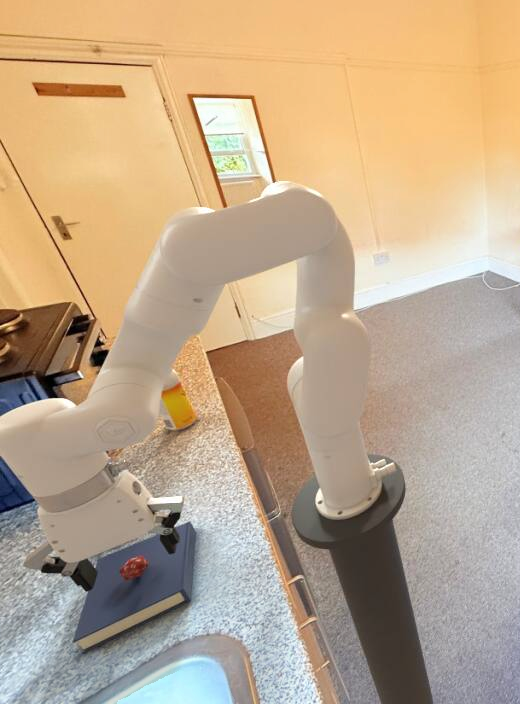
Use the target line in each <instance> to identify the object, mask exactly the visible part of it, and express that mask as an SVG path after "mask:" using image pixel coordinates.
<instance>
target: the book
mask: <svg viewBox="0 0 520 704" xmlns="http://www.w3.org/2000/svg"><path fill="white" fill-rule="evenodd" d="M174 527H175V529H176V530H177V532H178V534H179V536H180V542H179V543H177V545H176V552H175V553H174V554H169V553H168V552H167V550H166V549H165V547H164V546H163V544H162V542H161V541H160V534H154V535H152V536H150V537H148V538H145V539H142V540H141V541H138V542H136V543H133V544H131V545H129V546H126V547H123V548H120V549H119V550H116V551H114V552H111V553H109V554H106V555H104V556H102V557H98V558H97V561H96V564H95V566H94V568H95V569H96V570H97V572H98V574H97V577H96V581H95V584H94V587H93V588H92V590H90V591H87V592H86V597H85V600H84V603H83V605H82V608H81V609H82V610H81V613H80V616H79V618H78V623H77V626H76V629H75V632H74V636H73V639H72V643H74V644H75V643H77V644H78V645H79V646H80V647H81V648H82V654H86V653H88V652H90V651H92V650H94V649H96V648H98V647H100V646H102V645H104V644H106V643H108V642H111V641H113V640H114V639H116V638H118V637H120V636H122V635H124V634H126V633H129V632H131V631H132V630H134V629H136V628H139V627H140V626H142V625H145V624H147V623H149V622H150V621H153V620H155V619H157V618H159V617H161V616H163V615H165V614H167V613H169V612H171V611H173V610H175V609H177V608H180V607H181V606H183V605H186V604H188V603H189V602H191V601H192V594H193V593H192V592H193V580H194V567H195V555H196V541H197V531H196V529H195V528H194V525H193V524H192V522H191V521H190V520H189V521H186V522H184V523H182V524H180V525H177V526H174ZM139 556H144V557H145V559H146V560H147V562H148V563H149V565H148V567H147V568H146V569H145V570H144V572H143V573H142V574H141V576H139V577H135V578H132V579H129V580H125V579H124V578H123V576H122V575H121V573H120V572H119V571H120V569H121V568H122V567H123V566H124V565H125V563H126V562H127V561H128V560H129V559H132V558H136V557H139Z"/></svg>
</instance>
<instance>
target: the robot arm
mask: <svg viewBox="0 0 520 704" xmlns="http://www.w3.org/2000/svg"><path fill="white" fill-rule="evenodd" d="M150 253H151V254H150V256H149V257H148V260H147V262H146V264H145V266H144V268H143V269H142V272H141V274H140V276H139V278H138V280H137V281H136V285H135V286H134V288H133V291H132V292H131V295H130V297H129V299H128V301H127V302H126V304H125V307H124V309H123V312H122V322H121V325H120V328H119V330H118V333H117V335H116V337H115V339H114V341H113V343H112V345H111V347H110V349H109V351H108V353H107V355H106V357H105V359H104V361H103V364H102V366H101V367H100V370H99V372H98V373H97V375H96V377H95V380H94V382H93V384H92V386H91V389H90V390H89V392H88V395H87V397H86V399H85V400H83V401H82V402H81V403H80V404H78V405H76V404H75V403H74V402H73V401H71V400H70V399H67V398H61V397H60V398H59V397H57V398H55V397H53V398H45V399H40V400H37V401H33V402H30V403H26V404H23V405H21V406H19V407H16V408H13V409H12V410H9V411H8V412H5V413H4V414H2V415H0V457H1V459H2V460H3V461H4V463H6V465H7V466H8V467H9V469H10V470H11V471H12V473H13V474H14V475H15V476H16V478H17V479H18V481H20V483H21V484H22V486H23V487H24V488H25V489H26V491H27V492H28V493H29V494H30V496H31V497H32V498H33V499H34V500H35V501H36V503H37V505H38V508H37V510H36V511H37V517H38V521H39V523H40V526H41V529H42V532H43V533H44V536H45V538H46V539H47V540H46V541H45V542H44V543H43V544H41V545H40V546H39V547H37V548H36V549H34V550H33V551H32V552H31V553H30V554H28V555H27V556H26V558H25V560H24V562H23V564H22V566H23V567H24V568H27V569H30V570H31V569H32V570H35V571H40V572H41V573H42V574H54V575H55V574H56V575H58V574H59V575H60V576H61V578H68V577H69V578H70V579H71V580H72V581H73V583H74V584H75V585H76V586H77V587H81V588H82V589H83V591H84V592H86V593H88V591H90V590H92V588H93V587H94V584H95V581H96V577H97V574H98V572H97V570H96V569H95V566H94V565H93V564H92V562H91V561H90V560H89V558H91V557H94V556H98V555H100V554H102V553H104V552H107V551H109V550H111V549H114V548H117V547H119V546H122V545H123V544H126V543H129V542H131V541H133V540H135V539H137V538H140V537H142V536H144V535H146V534H153V535H157V534H160V541H161V542H162V544H163V546H164V547H165V549H166V550H167V552H168V553H169V554H174V553H175V552H176V545H177V543H179V542H180V536H179V534H178V532H177V530H176V529H175V527H176V525H177V523H178V522H179V521H180V519H181V515H182V513H183V512H182V511H183V509H184V504H185V497H184V496H170V497H159V498H158V497H157V498H154V497H153V495H152V494H151V493H150V491H149V490H148V489H147V488H146V486H144V484H143V483H142V482H141V481H140V480H139V479H138V478H137V477H136V476H135V475H134V474H132V473H131V472H130V471H129V469H130V464H129V461H128V460H127V459H125V460H121V461H116V460H114V458H113V457H112V456H110V457H109V455H108V453H107V452H108V451H114V450H119V449H125V448H127V447H131V446H134V445H137V444H139V443H141V442H143V441H144V440H146V439H147V438H148V437H149V436H150V435H152V433H153V432H154V430H156V427H157V425H158V422H159V416H160V414H159V409H160V400H161V394H162V389H163V386H164V384H165V382H166V379H167V377H168V375H169V373H170V371H171V369H173V366H174V364H175V363H176V360H177V358H178V357H179V355H180V353H181V351H182V349H183V348H184V346H185V345H186V344H187V342H189V340H190V339H192V338H193V337H195V336H197V335H199V334H200V333H202V331H204V329H205V328H206V326H207V324H208V322H209V320H210V318H211V316H212V313H213V311H214V309H215V307H216V305H217V304H218V301H219V299H220V296H221V295H222V292H223V290H224V289H225V287H226V284H231V283H233V282H237V281H240V280H244V279H247V278H249V277H253V276H256V275H258V274H262V273H265V272H266V271H269V270H273V269H275V268H278V267H281V266H283V265H286V264H288V263H291V262H294V261H295V262H296V292H295V293H296V295H295V309H294V316H293V317H294V319H293V328H292V329H293V336H294V338H295V340H296V343H297V344H298V347H299V349H300V351H301V353H302V356H301V357H299V358H298V359H297V360H296V361H294V363H293V364H292V365H291V367H290V369H289V371H288V374H287V378H286V389H287V392H288V395H289V398H290V401H291V403H292V406H293V409H294V412H295V415H296V418H297V420H298V423H299V426H300V430H301V433H302V435H303V438H304V442H305V445H306V448H307V452H308V455H309V458H310V462H311V464H312V468H313V470H314V473H315V474H316V477H317V480H318V483H319V486H320V488H319V490H318V492H317V495H316V507H317V509H318V511H319V513H320V514H321V515H322V516H324V517H326V518H328V519H332V520H341V519H347V518H351V517H354V516H356V515H358V514H360V513H362V512H364V511H365V510H366V509H368V508H369V507H370V506H371V505H372V504H373V503H374V502H375V501H376V500H377V498H378V497H379V495H380V493H381V490H382V478H381V477H383V476H385V475H389V474H391V473H393V472H396V468H395V465H394V463H391V464H388V465H386V461H385V459H383V460H381V461H379V462H377V463H375V464H373V463H371V464H370V461H369V459H368V456H367V454H368V453H367V449H366V444H365V440H364V436H363V432H362V431H363V430H362V428H361V422H360V419H361V417H362V415H363V412H364V409H365V406H366V401H367V400H366V399H367V393H368V385H369V377H370V376H369V375H370V366H371V357H372V346H371V345H372V344H371V339H370V334H369V332H368V329H367V327H366V325H364V322H362V321H361V319H360V318H359V317H358V316H357V315H356V312H355V308H354V306H355V303H354V302H355V285H356V284H355V281H356V280H355V277H356V261H355V252H354V247H353V244H352V240H351V237H350V236H349V234H348V231H347V229H346V227H345V226H344V224H343V222H342V221H341V219H340V218H339V216H338V215H337V213H336V211H335V209H334V207H333V205H332V204H331V202H330V201H329V200H328V199H327V198H326V197H325V196H324V195H323V194H321V193H320V192H318V191H317V190H315V189H312V188H310V187H307V186H306V185H303V184H301V183H299V182H293V181H278V182H274V183H272V184H270V185H268V186H267V187H266V188H265V189H264V190H263V191H262V193H261V195H260V197H258V198H256V199H252V200H249V201H245V202H243V203H238V204H234V205H230V206H227V207H223V208H219V209H215V210H213V209H212V208H211V209H210V208H207V207H199V206H197V207H196V206H194V207H187V208H183V209H180V210H178V211H176V212H175V213H174V214H172V215H171V216H170V217H169V218H168V220H167V221H166V223H165V224H164V226H163V228H162V230H161V232H160V234H159V236H158V238H157V241H156V243H155V245H154V247H153V249H152V251H151V252H150ZM385 465H386V466H385ZM383 466H385V467H383ZM381 467H383V468H381ZM378 468H381V469H378ZM165 510H170V512H169V513H168V514H163V513H158V512H159V511H165ZM53 552H54V553H55V554H56V555H57V556H49V555H50V554H52V553H53Z"/></svg>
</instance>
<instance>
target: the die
mask: <svg viewBox="0 0 520 704" xmlns="http://www.w3.org/2000/svg"><path fill="white" fill-rule="evenodd" d="M148 565H149V563H148V562H147V560H146V559H145V557H144V556H139V557H136V558H132V559H129V560H128V561H127V562H126V563H125V565H124V566H123V567H122V568H121V569H120V571H119V572H120V573H121V575H122V576H123V578H124V579H125V580H129V579H132V578H135V577H139V576H141V574H142V573H143V572H144V570H145V569H146V568H147V567H148Z"/></svg>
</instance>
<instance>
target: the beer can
mask: <svg viewBox="0 0 520 704" xmlns="http://www.w3.org/2000/svg"><path fill="white" fill-rule="evenodd" d="M159 416H160V418H161V420H162V422H163V424H164V426H165V428H166V429H167V430H171V431H181V430H184V429H186V428H188V427H190V426H191V425H193V424H194V423H195V421H196V419H197V414H196V412H195V410H194V408H193V405H192V403H191V402H190V399H189V397H188V395H187V393H186V390H185V388H184V386H183V383H182V381H181V379H180V377H179V375H178V373H177V371H176V370H175V369H173V368H172V369H171V371H170V373H169V375H168V377H167V379H166V382H165V384H164V386H163V389H162V394H161V400H160V409H159Z"/></svg>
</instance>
